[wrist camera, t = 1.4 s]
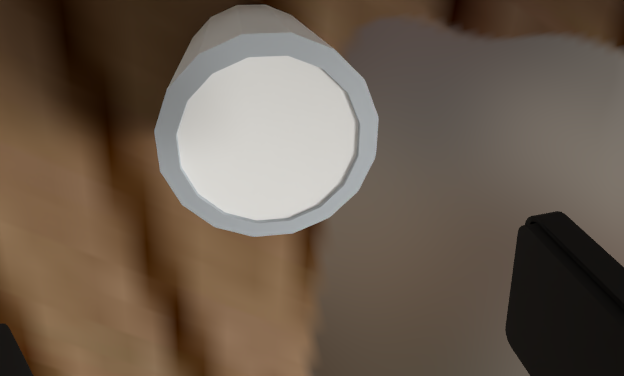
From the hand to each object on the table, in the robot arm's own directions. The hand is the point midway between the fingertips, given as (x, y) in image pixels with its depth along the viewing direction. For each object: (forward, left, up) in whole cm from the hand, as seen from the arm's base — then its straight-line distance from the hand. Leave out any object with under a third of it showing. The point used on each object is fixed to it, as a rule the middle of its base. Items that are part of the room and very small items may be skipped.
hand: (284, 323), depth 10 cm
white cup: (-1, 0, -15) cm, 15 cm away
